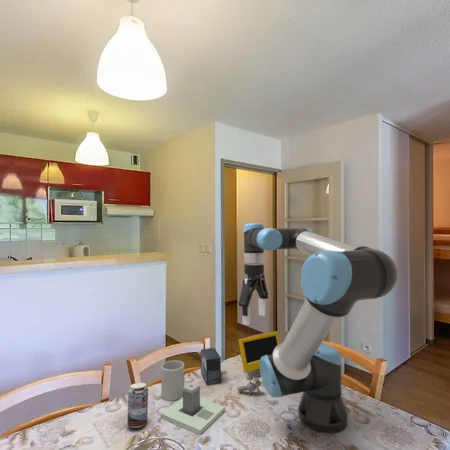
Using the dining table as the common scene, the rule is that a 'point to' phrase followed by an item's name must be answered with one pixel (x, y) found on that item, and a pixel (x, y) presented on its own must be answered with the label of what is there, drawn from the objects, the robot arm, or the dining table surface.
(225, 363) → the dining table surface
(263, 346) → the toy computer monitor
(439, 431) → the dining table surface
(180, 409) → the outlet plate
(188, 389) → the block
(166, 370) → the mug
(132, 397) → the beverage can
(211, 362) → the small box
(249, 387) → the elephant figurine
